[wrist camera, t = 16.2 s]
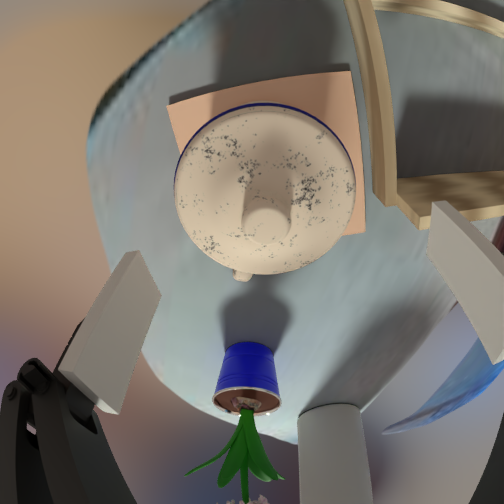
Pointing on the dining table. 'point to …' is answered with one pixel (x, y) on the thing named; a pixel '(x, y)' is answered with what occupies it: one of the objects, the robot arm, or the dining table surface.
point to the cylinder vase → (333, 456)
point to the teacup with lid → (264, 188)
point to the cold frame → (382, 122)
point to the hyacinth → (246, 413)
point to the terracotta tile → (296, 95)
